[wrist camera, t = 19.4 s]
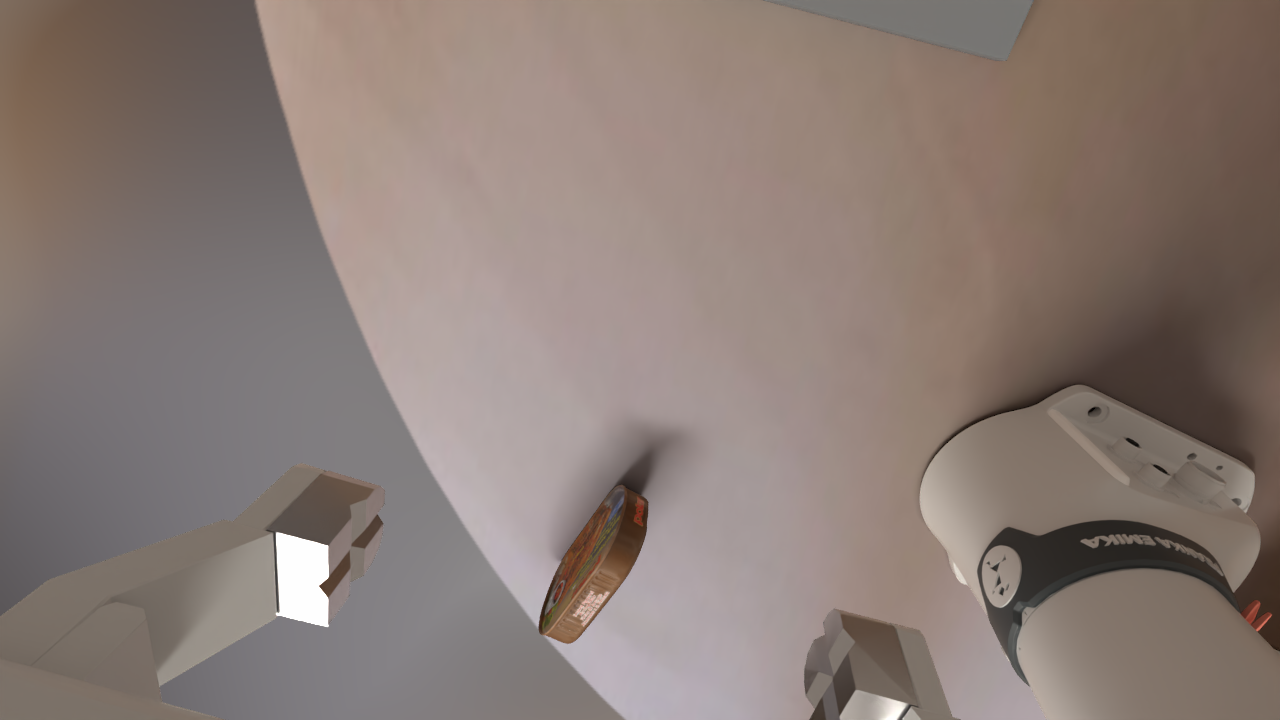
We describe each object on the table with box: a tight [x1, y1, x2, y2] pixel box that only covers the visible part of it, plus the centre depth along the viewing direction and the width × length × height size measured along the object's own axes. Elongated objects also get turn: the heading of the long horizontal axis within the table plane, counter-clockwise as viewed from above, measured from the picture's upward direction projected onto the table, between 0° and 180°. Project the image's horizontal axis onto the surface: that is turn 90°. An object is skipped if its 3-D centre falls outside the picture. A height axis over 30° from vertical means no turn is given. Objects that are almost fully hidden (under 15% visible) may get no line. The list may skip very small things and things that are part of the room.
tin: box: [539, 485, 648, 644], centre depth 51 cm, size 15×3×8 cm, turn 150°
